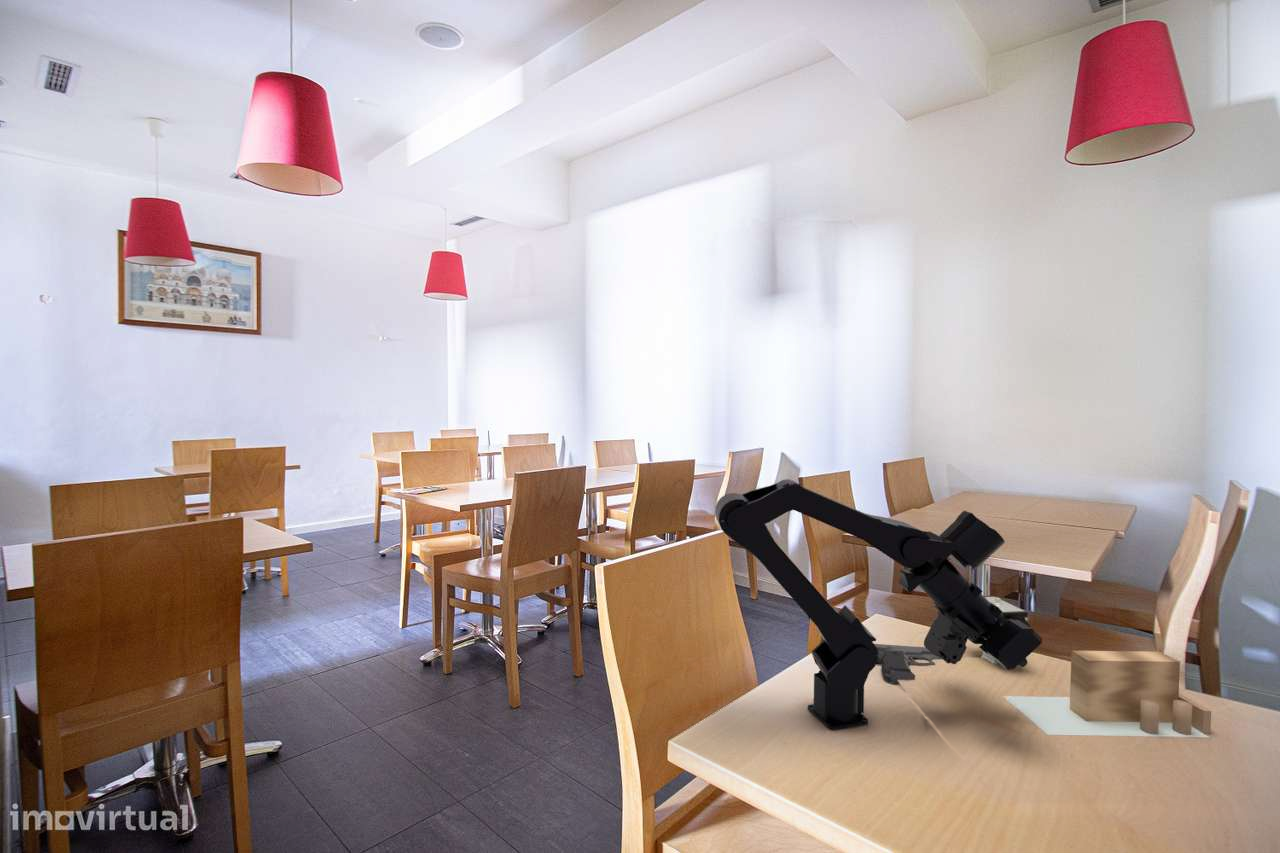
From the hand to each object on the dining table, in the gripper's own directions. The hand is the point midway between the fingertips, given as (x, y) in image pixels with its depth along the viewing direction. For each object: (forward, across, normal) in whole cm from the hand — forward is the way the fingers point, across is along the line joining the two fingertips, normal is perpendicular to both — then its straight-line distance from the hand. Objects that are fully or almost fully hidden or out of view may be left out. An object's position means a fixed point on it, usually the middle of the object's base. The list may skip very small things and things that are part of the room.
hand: (1023, 664), depth 90 cm
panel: (+14, 0, +2) cm, 14 cm away
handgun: (+1, -17, -12) cm, 20 cm away
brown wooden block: (+16, 0, +5) cm, 16 cm away
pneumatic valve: (+11, -19, -1) cm, 22 cm away
